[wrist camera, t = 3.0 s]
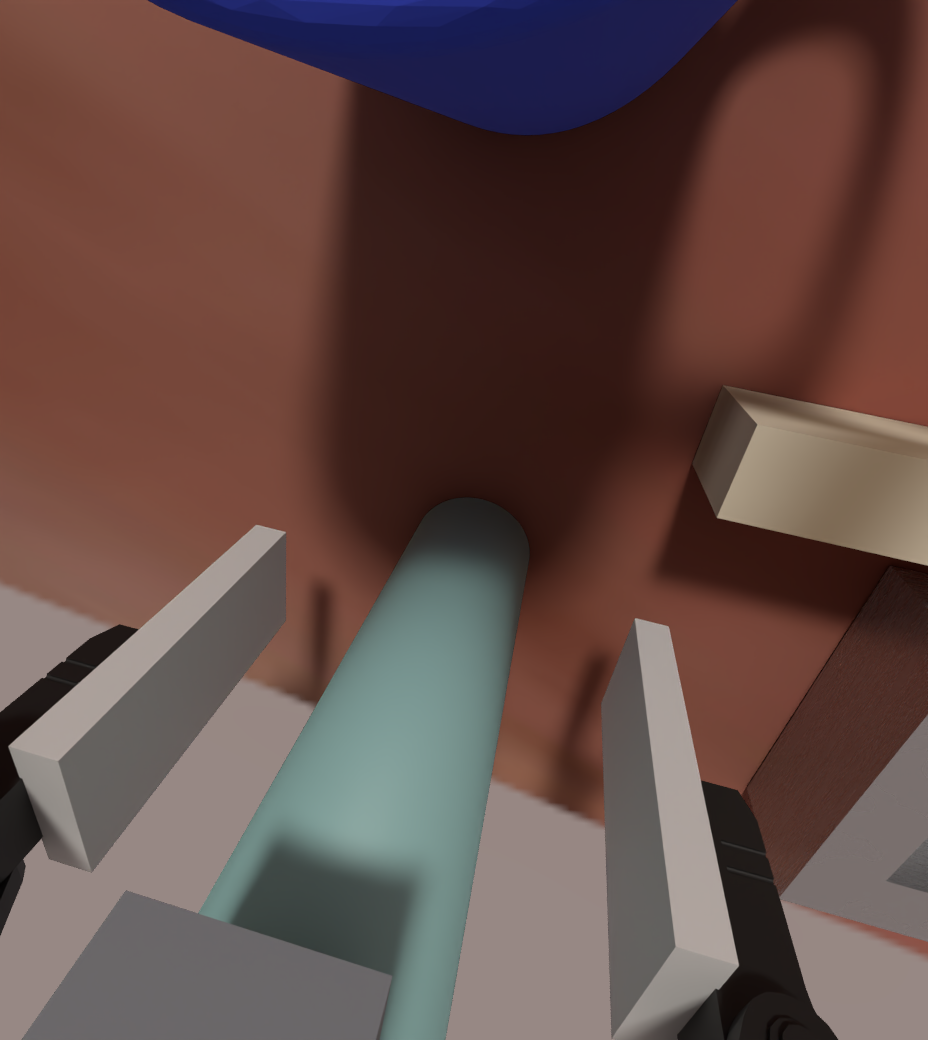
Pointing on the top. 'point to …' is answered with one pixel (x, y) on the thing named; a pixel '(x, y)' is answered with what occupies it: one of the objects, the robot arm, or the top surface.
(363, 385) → the top surface
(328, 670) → the top surface
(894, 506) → the bay
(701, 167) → the top surface
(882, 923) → the block
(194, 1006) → the crank peg
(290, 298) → the top surface
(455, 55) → the mug
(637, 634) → the robot arm
